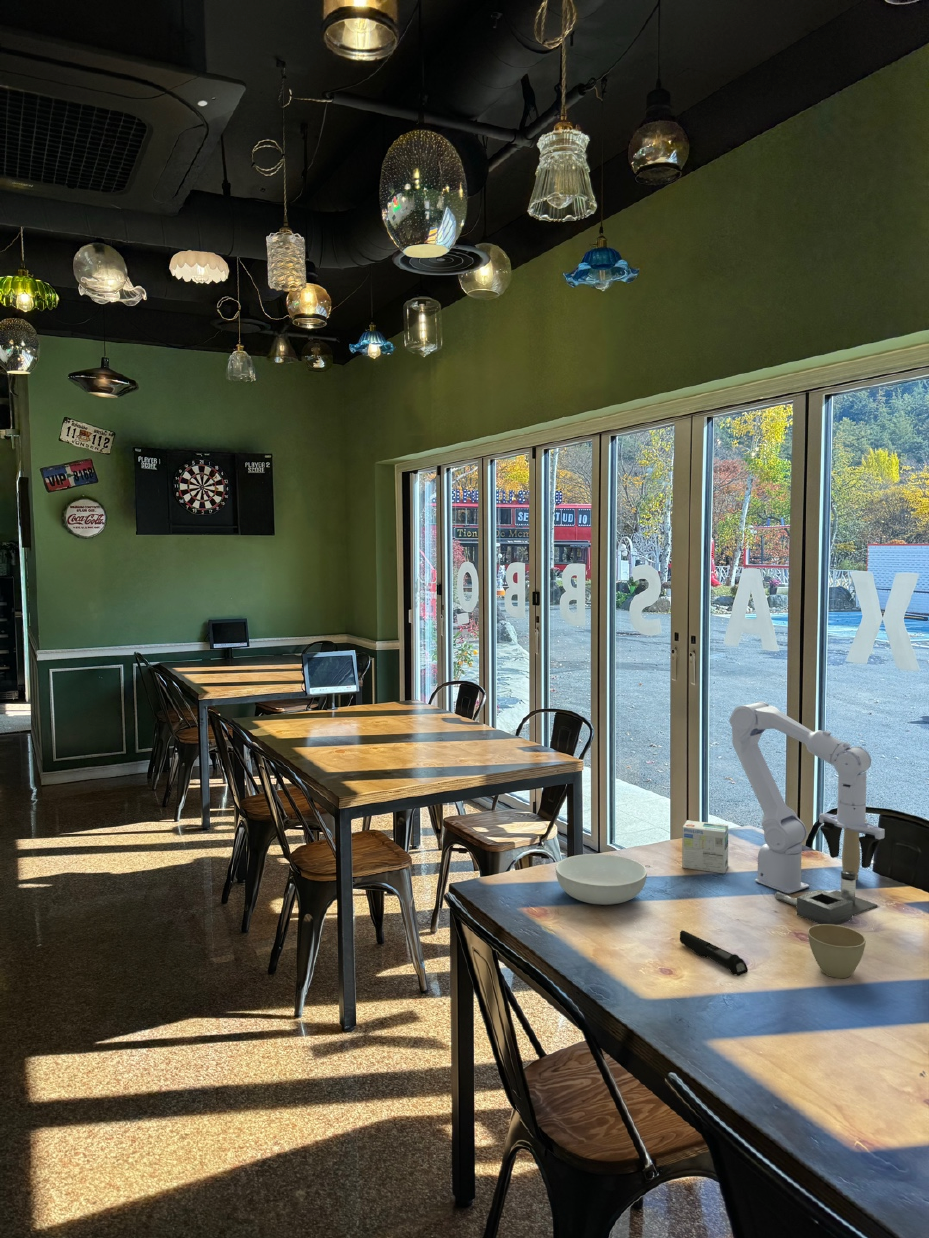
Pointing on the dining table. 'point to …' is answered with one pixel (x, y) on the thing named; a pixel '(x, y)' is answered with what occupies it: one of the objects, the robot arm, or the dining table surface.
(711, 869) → the light bulb box
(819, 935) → the flower pot
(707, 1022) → the dining table surface
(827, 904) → the grey hollow block
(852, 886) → the spice shaker
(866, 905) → the mat
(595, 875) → the serving bowl
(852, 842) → the handle
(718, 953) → the electric trimmer
